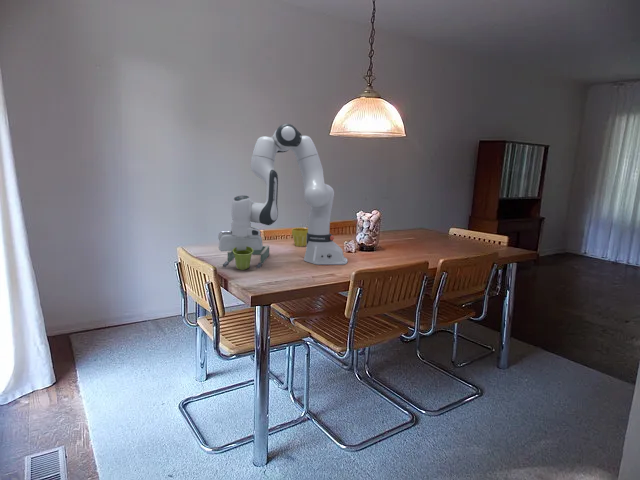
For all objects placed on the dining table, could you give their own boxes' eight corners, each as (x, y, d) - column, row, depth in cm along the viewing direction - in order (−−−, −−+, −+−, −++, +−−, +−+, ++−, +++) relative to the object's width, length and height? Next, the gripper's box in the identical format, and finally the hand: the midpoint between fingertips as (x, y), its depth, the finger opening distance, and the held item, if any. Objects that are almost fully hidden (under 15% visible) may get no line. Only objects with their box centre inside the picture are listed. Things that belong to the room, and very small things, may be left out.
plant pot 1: (253, 271, 200) (253, 254, 196) (232, 271, 198) (232, 254, 195) (253, 262, 208) (253, 246, 205) (232, 262, 207) (232, 245, 203)
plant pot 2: (288, 246, 257) (289, 229, 255) (295, 243, 267) (295, 227, 265) (305, 247, 254) (306, 231, 252) (311, 244, 264) (311, 228, 262)
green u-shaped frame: (269, 254, 234) (269, 245, 233) (262, 263, 214) (263, 253, 213) (236, 253, 234) (236, 244, 233) (227, 261, 214) (227, 252, 213)
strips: (261, 265, 211) (261, 263, 211) (259, 268, 205) (259, 266, 205) (225, 263, 211) (225, 261, 211) (222, 266, 205) (222, 264, 205)
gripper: (219, 232, 197) (219, 262, 199) (263, 231, 204) (263, 260, 207) (217, 230, 203) (217, 259, 205) (260, 229, 210) (260, 257, 213)
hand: (240, 259), depth 206 cm, fingers closed, pressing on plant pot 1
